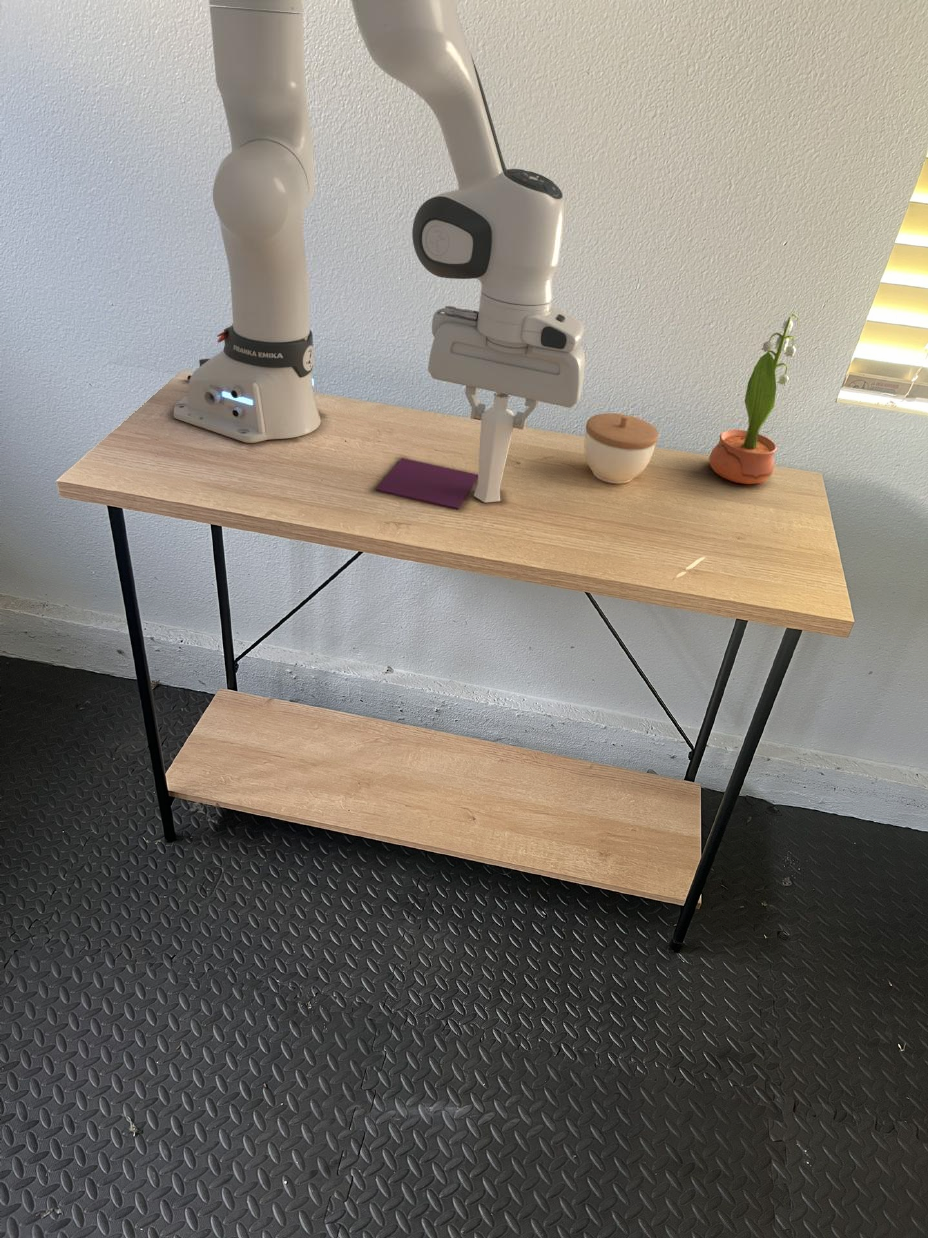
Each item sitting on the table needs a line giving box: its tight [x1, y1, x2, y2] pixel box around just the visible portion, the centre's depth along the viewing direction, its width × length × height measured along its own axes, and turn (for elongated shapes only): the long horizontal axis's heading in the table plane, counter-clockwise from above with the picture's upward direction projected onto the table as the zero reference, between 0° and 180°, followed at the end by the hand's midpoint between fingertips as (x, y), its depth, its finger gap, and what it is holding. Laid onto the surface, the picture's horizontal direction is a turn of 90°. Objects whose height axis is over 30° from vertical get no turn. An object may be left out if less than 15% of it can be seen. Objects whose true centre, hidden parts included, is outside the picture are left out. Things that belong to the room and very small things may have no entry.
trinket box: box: [583, 413, 659, 485], centre depth 128 cm, size 11×11×9 cm
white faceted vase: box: [473, 392, 515, 504], centre depth 116 cm, size 5×4×15 cm
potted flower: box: [708, 312, 800, 485], centre depth 129 cm, size 12×10×25 cm
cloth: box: [375, 457, 478, 510], centre depth 122 cm, size 12×11×1 cm
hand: (498, 422), depth 114 cm, fingers closed on white faceted vase, 4 cm apart
